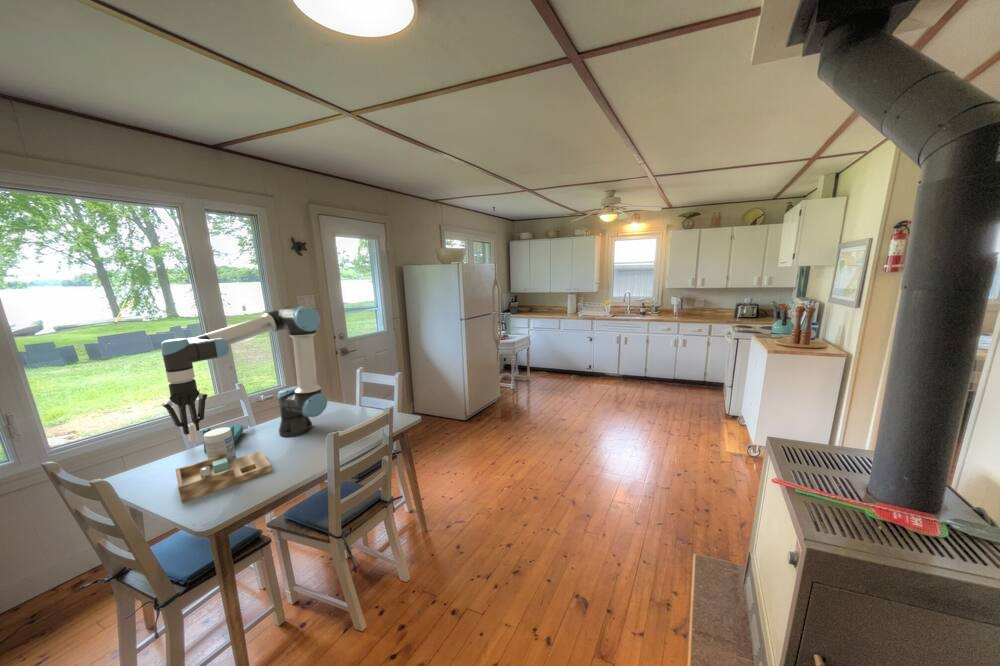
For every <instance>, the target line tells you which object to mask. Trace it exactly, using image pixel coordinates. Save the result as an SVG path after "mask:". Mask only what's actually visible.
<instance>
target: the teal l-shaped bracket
mask: <svg viewBox="0 0 1000 666" xmlns="http://www.w3.org/2000/svg"><path fill="white" fill-rule="evenodd" d="M224 427H228V428H231V431H232V436H233V442H234V445H235V444H236V442H237V441H238V439H239V438H240V436H241V435H242V433H244V425H243V424H240V425H239V424H237V425H228V426H217V427H216V428H215V429H218V428H224ZM209 431H211V428H210V427H209V426H208V427H205V428H204V429H203V430H202V437H203V440H204V434H205V433H207V432H209ZM203 450H204V451H203V452H204V453H206V448H205V443H204V442H203Z"/></svg>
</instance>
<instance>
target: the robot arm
mask: <svg viewBox="0 0 1000 666" xmlns="http://www.w3.org/2000/svg"><path fill="white" fill-rule="evenodd" d="M320 324H321V318H320V314H319V313H318V312H317V310H315V309H314V308H313V307H310V306H305V305H299V306H298V305H288V306H287V305H286V306H282V307H280V308H277V309H274V310H271V311H268V312H266V313H263V314H262V315H261V316H260V317H256V318H252V319H250V320H246V321H243V322H241V323H236V324H233V325H229V326H227V327H224V328H220V329H217V330H213V331H210V332H208V333H204V334H201V335H198V336H194V337H184V338H183V337H181V338H172V339H166V340H163V341H162V342H161V343H160V344H161V347H160V348H161V356H162V358H163V363H164V367H165V373H166V378H167V383H168V388H169V393H170V396H169V400H167V401H166V402H164V403H162V404H161V406H162V407H163V408H165V409H166V411H167V412H168V414H169V416H170V418H171V421H172V422H173V424H174V426H176V427H178V428H180V427H182V428H181V429H182V432H183V434H184V435H186V436H187V439H188V442H190V443H194V442H197V441H199V436H198V432H199V431H200V425H199V423H200V421H203V420H204V419H205V411H206V410H205V409H206V399H207V398H208V394H207V393H204V392H203V393H201V392H200V391H199V390H198V386H197V382H196V379H195V378H196V375H195V371H194V365H193V363H197V362H204V361H208V360H212V359H213V360H214V359H219V358H222V357H226V356H227V355H228V354H229V351H230V348H229V346H230V345H233V344H236V343H239V342H242V341H245V340H248V339H251V338H254V337H257V336H259V335H263V334H266V333H267V332H270V333H275V332H279V331H285V330H286V331H288V336H289V337H290V338H292V342H293V343H292V344H293V353H294V362H295V363H294V364H295V374H296V381H297V382H296V385H294V386H290V387H286V388H283V389H281V390H279V391H278V392H277V401H278V407H279V413H280V424H279V427H278V432H279V434H278V435H279V437H282V438H293V437H297V436H301V435H304V434H306V433H309V432H310V431H312V429H313V427H314V426H313V422H312V420H311V419H310V418H316V417H318V416H320V415H321V414H323V413H324V411H325V410H326V409H327V406H328V399H327V396H325V394H323V393H322V387H321V386H320V385H319V384H318V377H317V365H316V364H317V363H316V355H315V344H314V336H315V335H316V334H317V329H318V328H319V326H320ZM197 399H198V409H197V408H196V403H195V402H196V400H197ZM173 404H175V405H177V406H178V410H179V411H178V413H179V416H180V419H179V416H178V415H177V413H176V411H175V409H174V408H173ZM187 406H188V410H189V414H190V418H191V422H192V423H191V422H190V423H188V416H187Z"/></svg>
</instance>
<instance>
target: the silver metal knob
mask: <svg viewBox="0 0 1000 666" xmlns="http://www.w3.org/2000/svg"><path fill="white" fill-rule="evenodd" d="M200 474H201V478H205V477H208V476H211V470H210V466H206V467H203V468H201V469H200Z"/></svg>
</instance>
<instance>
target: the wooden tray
mask: <svg viewBox="0 0 1000 666" xmlns="http://www.w3.org/2000/svg"><path fill="white" fill-rule="evenodd" d="M224 458H226V459H227V455H226V454H224V455H221V456H217V457H214V458H211V459H208V458H207V459H205V460H202V461H197V462H195V463H191V464H188V465H185V466H182V467H181V466H180V467H178V468H175V475H176V482H177V487H178V492H179V497H180V502H181V503H185V502H188V501H190V500H193V499H196V498H199V497H202V496H204V495H208V494H210V493H214V492H216V491H218V490H222V489H225V488H226V487H230V486H232V485H233V486H234V485H236V484H239V483H241V482H244V481H246V480H250V479H252V478H255V477H258V476H260V475H264V474H267V473H269V472H271V471H272V465H271V463H270V462H269V460H268V459H267V458H266V456H265V455H264V453H263V452H262V451H261V450H259V451H257V452H253V453H250V454H247V455H245V456H241V457H238V458H237V457H236V459H234V460H231V461H228V460H227V461H228V465H229V470H226V471H223V472H220V473H217V474H214V470H213V464H212V462H214V461H217V460H220V459H224ZM206 466H210V470H211V476H208V477H205V478H201V474H200V469H201V468H203V467H206ZM181 503H180V504H181Z"/></svg>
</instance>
